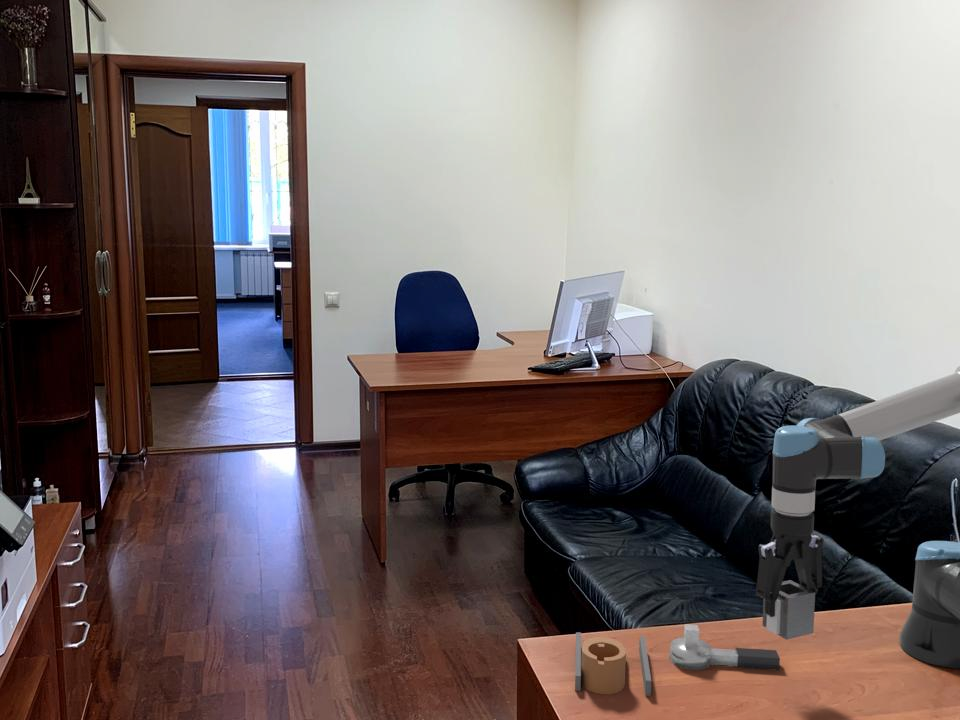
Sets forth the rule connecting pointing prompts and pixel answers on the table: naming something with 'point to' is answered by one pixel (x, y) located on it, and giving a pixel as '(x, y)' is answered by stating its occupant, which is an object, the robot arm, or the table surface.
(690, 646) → the ratchet
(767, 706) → the table surface
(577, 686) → the bar
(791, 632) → the socket
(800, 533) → the robot arm
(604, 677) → the tan slotted hollow cylinder
